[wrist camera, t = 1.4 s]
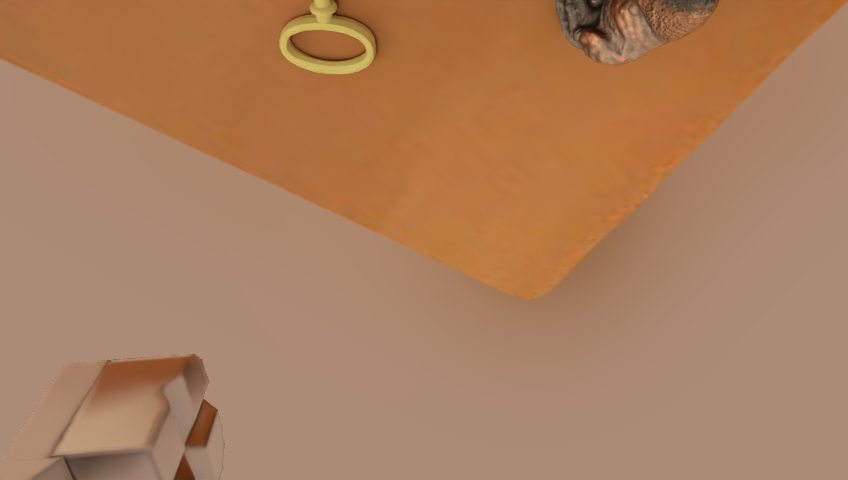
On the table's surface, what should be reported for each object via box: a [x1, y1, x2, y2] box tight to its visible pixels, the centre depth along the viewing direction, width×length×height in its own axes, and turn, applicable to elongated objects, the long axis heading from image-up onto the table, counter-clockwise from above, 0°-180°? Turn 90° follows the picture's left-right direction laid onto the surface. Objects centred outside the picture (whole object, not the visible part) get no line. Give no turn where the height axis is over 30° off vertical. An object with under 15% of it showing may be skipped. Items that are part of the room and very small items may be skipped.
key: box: [280, 0, 376, 74], centre depth 52 cm, size 7×12×2 cm, turn 18°
